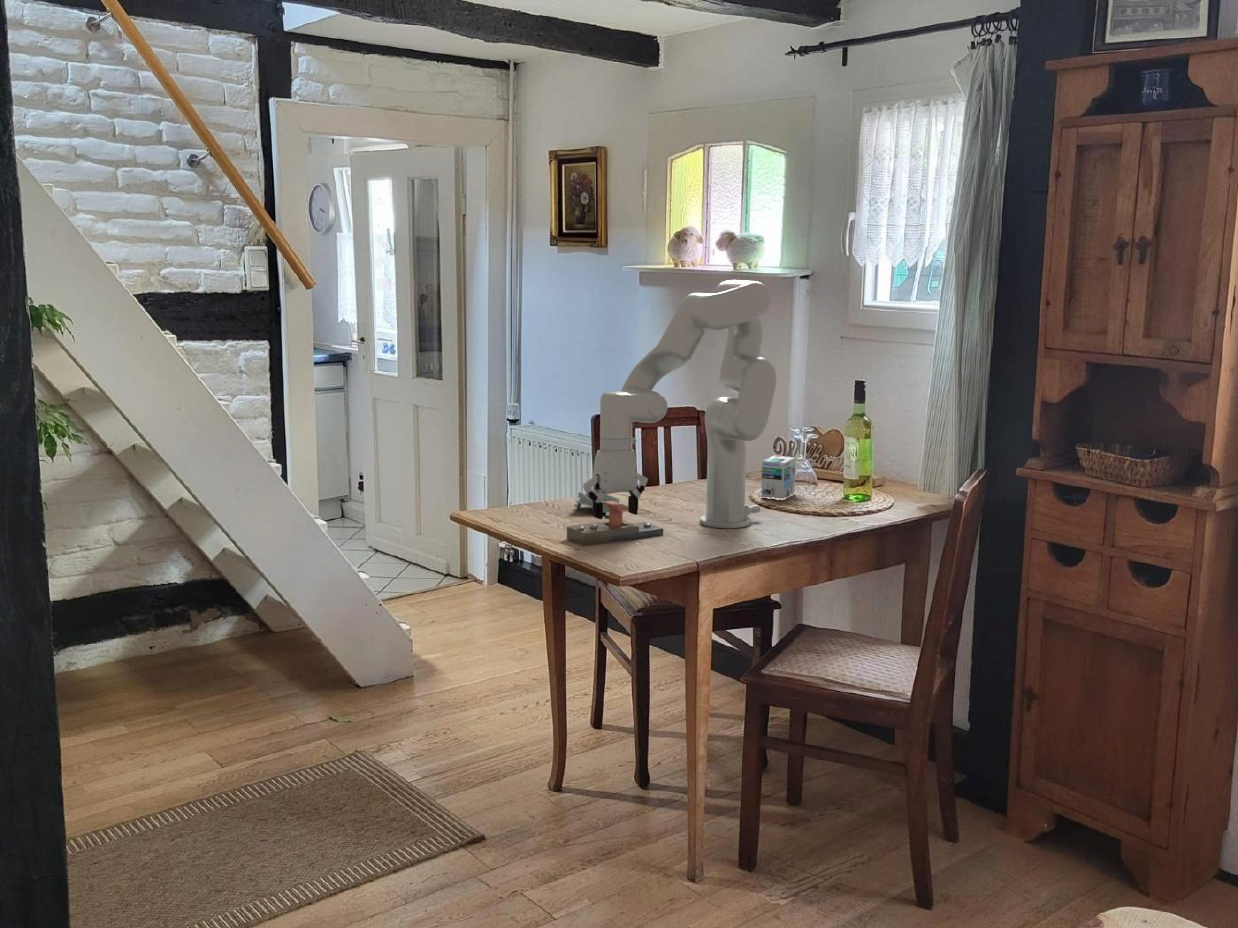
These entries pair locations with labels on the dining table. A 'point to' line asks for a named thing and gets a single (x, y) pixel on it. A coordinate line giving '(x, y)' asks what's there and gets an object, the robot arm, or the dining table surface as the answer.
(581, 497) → the metal bracket
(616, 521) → the orange t-shaped block
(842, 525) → the dining table surface
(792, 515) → the dining table surface
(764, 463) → the light bulb box
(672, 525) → the dining table surface
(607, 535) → the studded slotted plate
